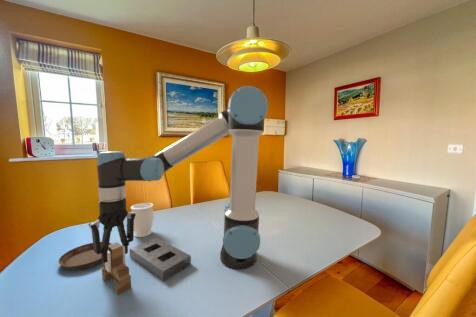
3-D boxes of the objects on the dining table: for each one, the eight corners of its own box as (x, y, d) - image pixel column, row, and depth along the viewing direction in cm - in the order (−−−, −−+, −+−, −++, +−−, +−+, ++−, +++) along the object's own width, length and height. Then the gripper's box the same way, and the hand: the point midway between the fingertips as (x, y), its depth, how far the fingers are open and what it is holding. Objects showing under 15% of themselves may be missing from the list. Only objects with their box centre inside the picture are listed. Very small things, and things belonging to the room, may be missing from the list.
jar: (145, 239, 97) (144, 209, 96) (126, 237, 99) (125, 208, 98) (158, 230, 108) (157, 203, 106) (141, 228, 110) (140, 201, 108)
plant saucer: (45, 274, 72) (44, 266, 71) (80, 248, 89) (80, 241, 89) (96, 272, 73) (96, 264, 73) (121, 247, 91) (121, 241, 90)
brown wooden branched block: (131, 287, 65) (129, 249, 64) (118, 294, 62) (116, 254, 61) (114, 272, 73) (113, 238, 72) (102, 278, 70) (100, 242, 69)
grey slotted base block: (190, 264, 78) (190, 255, 78) (163, 281, 68) (163, 271, 68) (156, 245, 92) (156, 237, 92) (129, 256, 83) (129, 248, 82)
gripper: (133, 191, 74) (135, 252, 76) (77, 202, 61) (81, 275, 63) (143, 195, 70) (145, 259, 72) (85, 207, 56) (89, 286, 58)
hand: (115, 266), depth 67 cm, fingers open, 4 cm apart
